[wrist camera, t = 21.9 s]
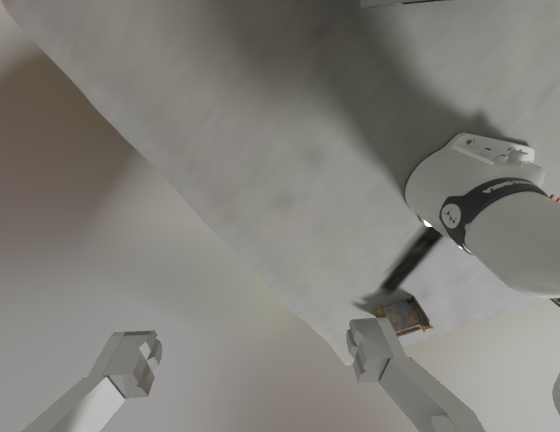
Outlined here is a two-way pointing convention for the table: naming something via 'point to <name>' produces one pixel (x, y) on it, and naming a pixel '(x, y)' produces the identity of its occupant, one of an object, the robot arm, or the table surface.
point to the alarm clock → (393, 2)
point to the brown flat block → (405, 317)
